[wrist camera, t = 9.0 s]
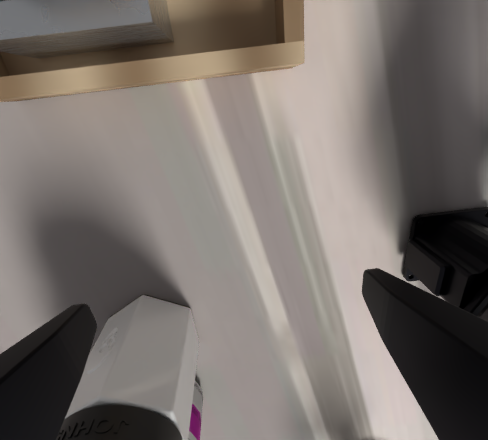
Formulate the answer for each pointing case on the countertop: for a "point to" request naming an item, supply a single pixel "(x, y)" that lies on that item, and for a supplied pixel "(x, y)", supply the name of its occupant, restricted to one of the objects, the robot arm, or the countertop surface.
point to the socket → (81, 26)
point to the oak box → (171, 51)
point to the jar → (138, 376)
